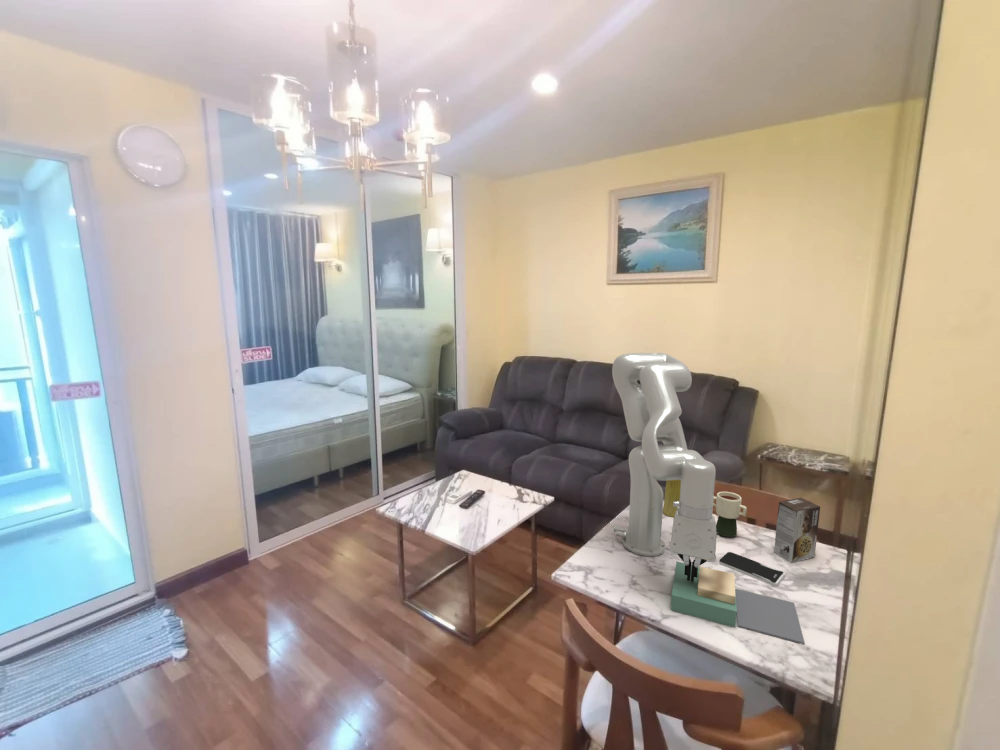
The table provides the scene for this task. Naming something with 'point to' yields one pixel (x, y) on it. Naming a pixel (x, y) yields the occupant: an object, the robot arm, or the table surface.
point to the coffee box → (796, 529)
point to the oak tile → (716, 585)
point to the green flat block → (699, 600)
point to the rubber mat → (768, 616)
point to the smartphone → (752, 568)
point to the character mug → (728, 512)
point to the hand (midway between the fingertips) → (690, 578)
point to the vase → (671, 497)
